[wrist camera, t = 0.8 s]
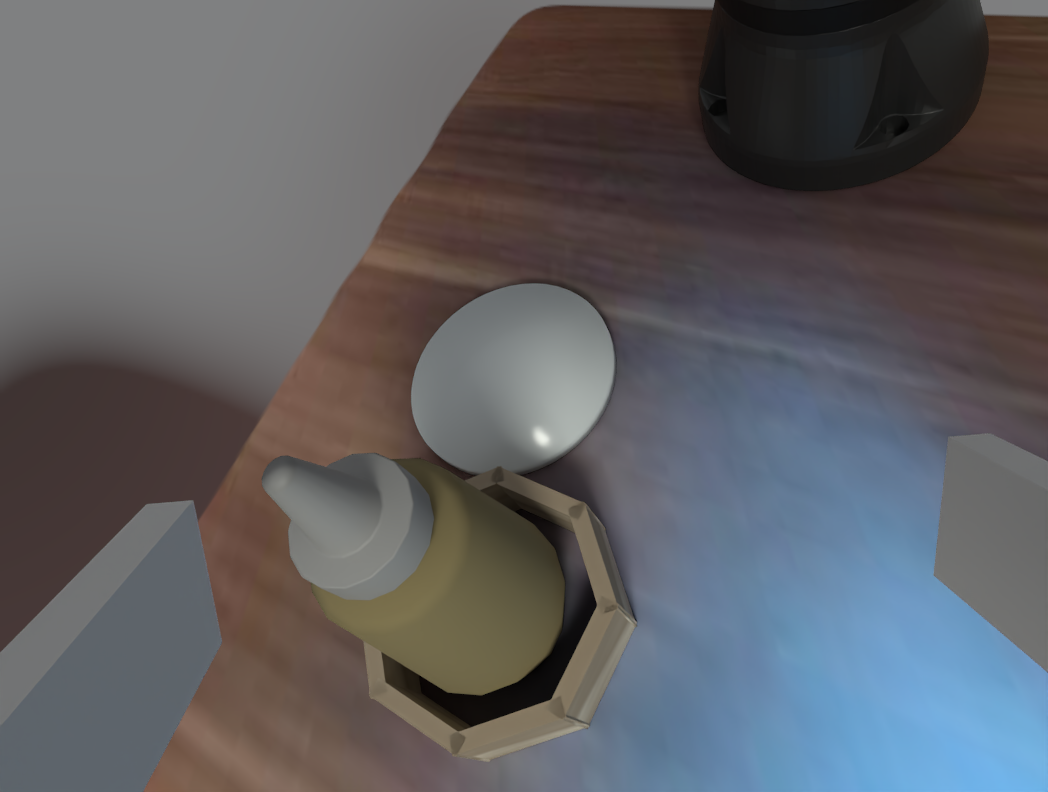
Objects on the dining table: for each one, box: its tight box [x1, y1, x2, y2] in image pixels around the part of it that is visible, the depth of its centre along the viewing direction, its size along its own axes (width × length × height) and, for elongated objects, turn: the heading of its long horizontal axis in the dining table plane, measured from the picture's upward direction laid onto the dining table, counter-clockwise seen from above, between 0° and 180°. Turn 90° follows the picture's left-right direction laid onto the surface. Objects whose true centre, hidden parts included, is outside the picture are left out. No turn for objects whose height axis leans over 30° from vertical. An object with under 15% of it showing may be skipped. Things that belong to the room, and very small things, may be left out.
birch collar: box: [364, 466, 637, 762], centre depth 34 cm, size 12×12×4 cm
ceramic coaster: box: [411, 283, 616, 476], centre depth 42 cm, size 12×12×1 cm
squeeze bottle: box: [262, 453, 565, 695], centre depth 28 cm, size 8×8×18 cm
